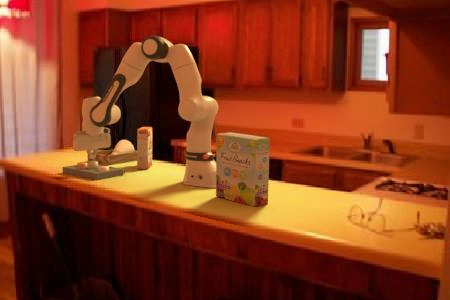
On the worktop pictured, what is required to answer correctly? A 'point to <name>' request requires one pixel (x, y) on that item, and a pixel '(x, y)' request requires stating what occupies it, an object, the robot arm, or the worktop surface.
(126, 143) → the cream teardrop
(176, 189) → the worktop surface
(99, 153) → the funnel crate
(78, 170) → the panel
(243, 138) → the snack box
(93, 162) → the sage button
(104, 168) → the ivory button
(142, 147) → the cracker box
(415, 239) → the worktop surface
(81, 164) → the terracotta button
